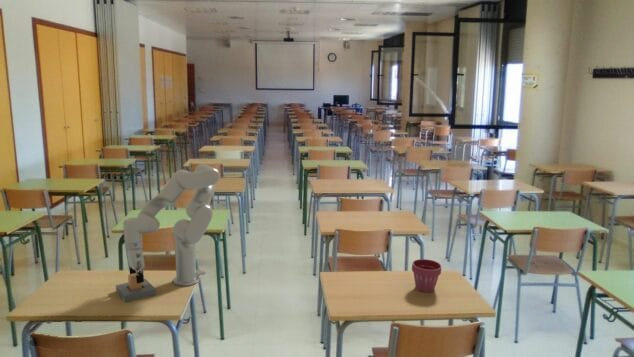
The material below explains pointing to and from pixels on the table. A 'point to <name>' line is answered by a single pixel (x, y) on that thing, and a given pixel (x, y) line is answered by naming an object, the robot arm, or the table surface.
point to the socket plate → (135, 291)
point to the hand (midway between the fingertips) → (137, 278)
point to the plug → (133, 282)
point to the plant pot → (426, 274)
